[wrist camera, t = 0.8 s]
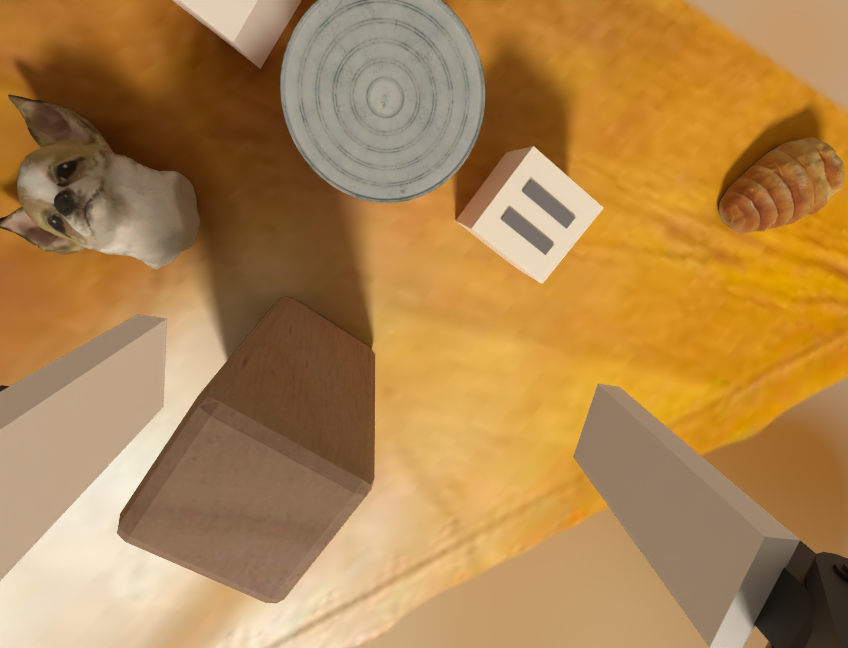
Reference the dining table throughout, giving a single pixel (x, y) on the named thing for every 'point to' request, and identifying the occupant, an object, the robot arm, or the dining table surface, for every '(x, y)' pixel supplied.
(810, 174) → the pastry
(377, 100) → the canned food
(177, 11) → the dining table surface
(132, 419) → the robot arm
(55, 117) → the ceramic sculpture
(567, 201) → the marked cube 1
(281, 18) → the marked cube 2
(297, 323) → the block
